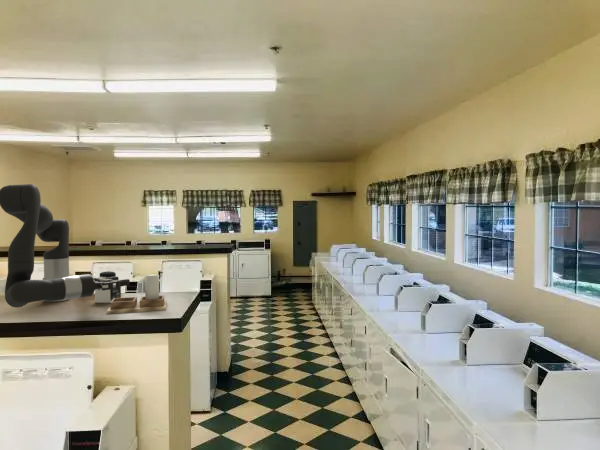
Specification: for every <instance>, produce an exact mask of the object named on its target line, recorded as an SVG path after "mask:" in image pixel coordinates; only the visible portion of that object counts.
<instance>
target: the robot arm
mask: <svg viewBox="0 0 600 450" xmlns="http://www.w3.org/2000/svg"><path fill="white" fill-rule="evenodd" d="M41 200H42V199H41V192H40V190H39V188H38V186H37V185H36V184H32V183H31V184H28V183H27V184H9V185H5V186H3V187H1V188H0V208H1V209H2V210H3V211H4V212H5V214H8V215H10V216H11V217H12V216H13V217H14V218H16V219H18V220H19V221H21V222H22V223H23V225H22V226H21V228H20V229H19V230H18V232H17V234H16V235H15V236H14V238H13V239H12V240H11V242H10V245H9V246H8V250H7V251H8V253H7V254H8V255H7V276H6V282H5V285H4V286H5V288H4V299H5V303H7V305H9V306H10V307H12V308H21V307H24V306H26V305H28V304H29V303H33V302H35V303H36V302H42V301H43V302H49V303H50V302H63V301H68V300H73V299H81V298H87V297H92V296H93V295H95V289H96V290H97V289H98V290H103V291H105V290H110V289H119V288H120V287H121V288H122V287H126V286H130V284H131V283H130V279H128V278H125V279H119V276H116V277H108V278H107V277H100V276H99V277H97V276H96V277H94V276H93V275H91V274H88V273H87V274H85V273H84V274H78V275H77V274H76V275H70V258H69V257H70V255H69V254H70V252H69V251H70V248H69V247H70V245H69V244H70V240H69V239H70V226H69V222H68V220H67V219H54V216H53V214H52V211H50V209H49V208H48V207H47V206H46V205H45V204H43V203H41V202H42V201H41ZM36 236H37V237H38V238H39V240H41V241H42V242H45V243H57V242H58V245H57V246H55V247H53V248H51V249H49V250H46V251H44V252H43V256H42V257H43V278H42V279H32V278H31V277H32V275H33V272H34V269H35V245H36V244H35V243H36ZM113 283H116V286H113Z"/></svg>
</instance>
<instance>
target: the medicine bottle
mask: <svg viewBox="0 0 600 450" xmlns="http://www.w3.org/2000/svg"><path fill="white" fill-rule="evenodd" d="M116 275H117V273H116V272H115V271H113V270H112V271H111V270H110V271H108V270H107V271H102V272H100V273H99V277H107V278H108V277H117V276H116ZM113 286H116V283H113ZM113 298H122V286H121V287H120V288H119V289H110V290H105V291H103V290H98V289H97V290H96V289H95V291H94V302H95V303H96V304H98V303H99V304H110V302H111V301H112V299H113Z"/></svg>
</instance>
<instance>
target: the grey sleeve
mask: <svg viewBox="0 0 600 450" xmlns="http://www.w3.org/2000/svg"><path fill="white" fill-rule="evenodd" d="M144 276H145V277H144V280H145V281H144V283H145V284H144V290H145V291H144V295H145V300H154V299H159V296H160V274H157V273H156V274H155V273H154V274H152V273H151V274H145V275H144Z"/></svg>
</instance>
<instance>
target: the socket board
mask: <svg viewBox="0 0 600 450" xmlns="http://www.w3.org/2000/svg"><path fill="white" fill-rule="evenodd" d="M167 302H168V300H165V295H163V294H162V295H159V299H154V300H145V296H141V297H140V299H139V301H138V297H137V296H132V297H131V296H129V297H121V298H113V299H112V301H111V302H110V303H109V305H110V306H109V308H107V310H106V314H107V315H110V314H126V313H141V312H142V313H143V312H159V311H166V310H167V305H168V304H167Z"/></svg>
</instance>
